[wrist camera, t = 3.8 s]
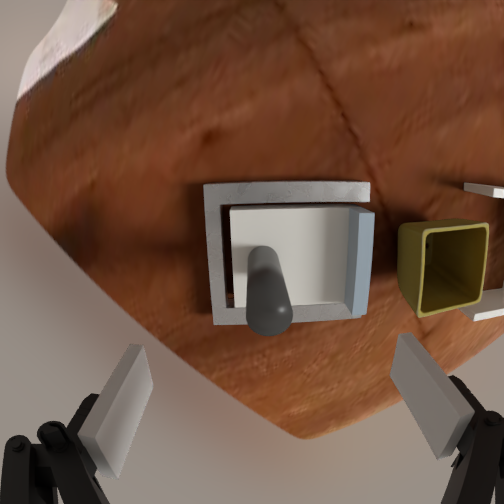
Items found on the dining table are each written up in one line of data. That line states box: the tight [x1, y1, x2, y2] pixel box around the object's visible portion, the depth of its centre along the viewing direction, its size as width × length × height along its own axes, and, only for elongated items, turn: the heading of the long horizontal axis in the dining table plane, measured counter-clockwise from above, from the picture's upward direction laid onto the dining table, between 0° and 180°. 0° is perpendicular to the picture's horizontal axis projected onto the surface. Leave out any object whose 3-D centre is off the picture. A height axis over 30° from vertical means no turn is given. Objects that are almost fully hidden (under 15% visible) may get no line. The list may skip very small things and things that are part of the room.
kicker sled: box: [230, 204, 375, 336], centre depth 27 cm, size 13×10×15 cm
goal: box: [458, 183, 504, 321], centre depth 31 cm, size 12×16×6 cm
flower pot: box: [397, 219, 489, 317], centre depth 30 cm, size 9×9×9 cm
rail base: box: [203, 180, 370, 325], centre depth 33 cm, size 16×15×2 cm
